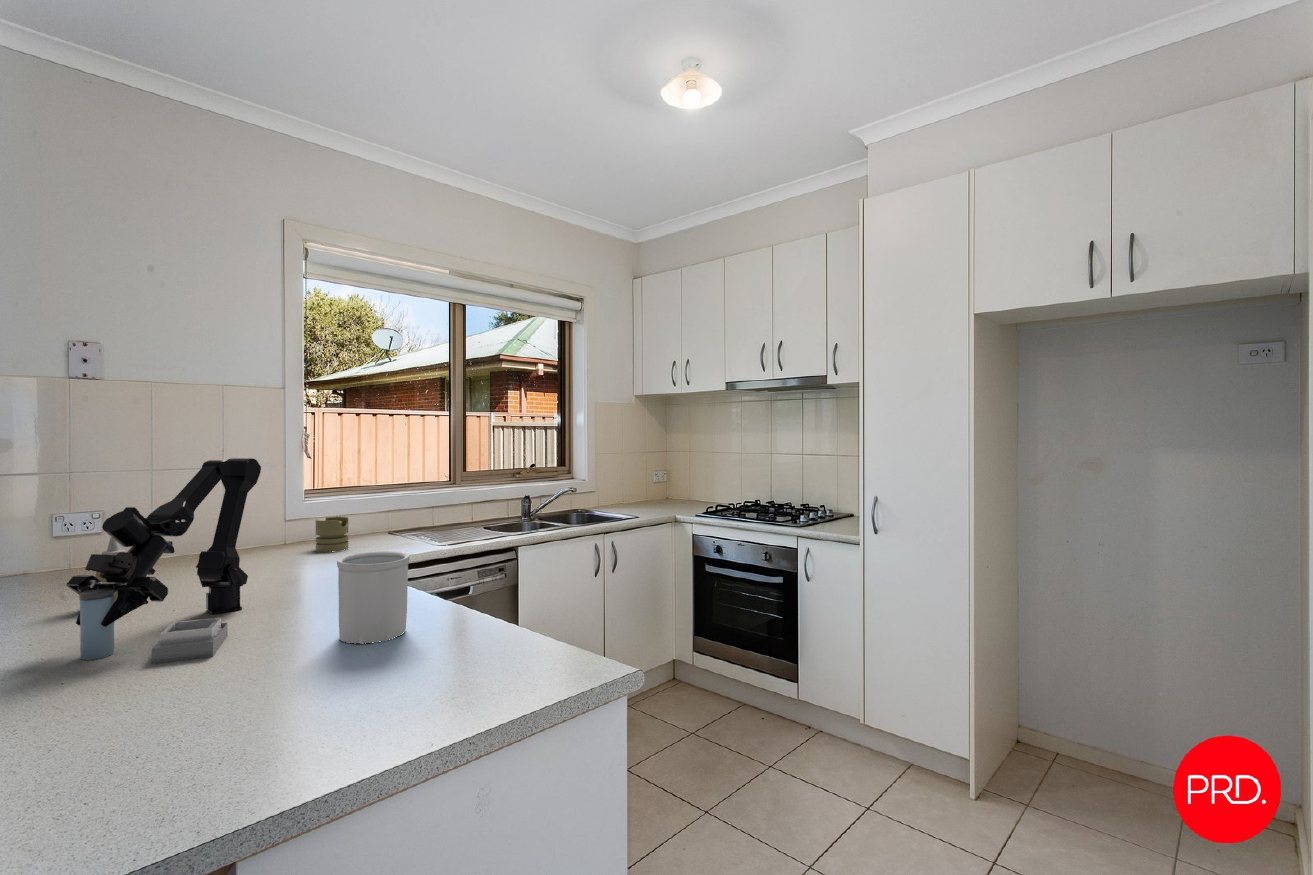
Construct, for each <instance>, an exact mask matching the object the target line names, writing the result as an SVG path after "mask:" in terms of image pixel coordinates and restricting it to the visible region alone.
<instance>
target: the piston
mask: <svg viewBox="0 0 1313 875" xmlns="http://www.w3.org/2000/svg"><path fill="white" fill-rule="evenodd" d="M348 534H349V517H347V516H328V517H325V520H319V519H315V536H317V537H315V552H316V551H320V552H319V553H323V552H327V553H333V552H332V551H339V550H344V549H347V550H349V549H348V548H350V547H349V545H350V544H349V542H350V540H349V535H348ZM344 551H345V550H344ZM339 552H340V551H339Z"/></svg>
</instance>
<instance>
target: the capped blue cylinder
mask: <svg viewBox="0 0 1313 875" xmlns="http://www.w3.org/2000/svg"><path fill="white" fill-rule="evenodd" d="M114 595H115V589H111V588H106V589H95V590H89V591H85V592H82V593H80V594H78V598H79V611H80V626H79V628H80V629H79V635H80V636H79V640H80V641H79V643H80V644H79V645H80V646H79V652H80V655H79V656H80V658H79V660H81V659H82V661H91V660H92V659H93V660H99V659H100V660H101V659H103V658H107V657H110V656H112V655H114V654H115V621H114V622H113V623H111V624H109V625H108V626H106V627H104V626H102V625H101V623H102V621H103V619H104V617H105V616H106V614H107V613H108V611H109V610H110V608H111V607H112V605H113V604H114ZM109 655H110V656H109Z"/></svg>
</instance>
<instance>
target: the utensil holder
mask: <svg viewBox="0 0 1313 875" xmlns="http://www.w3.org/2000/svg"><path fill="white" fill-rule="evenodd" d="M409 563H410V554H409V553H406V552H402V551H397V550H396V551H395V550H393V551H392V550H382V551H381V550H377V551H364V552H356V553H350V554H347V555H346V554H345V555H344V556H340V557H339V558H337V560H336V565H337V568H338V575H337V576H338V579H337V580H338V582H337V583H338V584H337V585H338V632H339V633H338V634H339V640H340V641H341V642H343V643H345V642H346V643H345V644H350V643H354V644H353V645H357V644H356V643H360V644H359V645H367V644H366V643H372V642H379V641H385V642H387V641H386V640H389V639H392V638H394V637H396V636H399V635H401V634H402V633H403V632H405V633H406V631H405V630H406V629H407V617H408V615H407V614H408V580H409V579H408V577H409V576H408V575H409ZM392 640H393V639H392ZM389 641H390V640H389ZM364 643H365V644H364Z"/></svg>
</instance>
